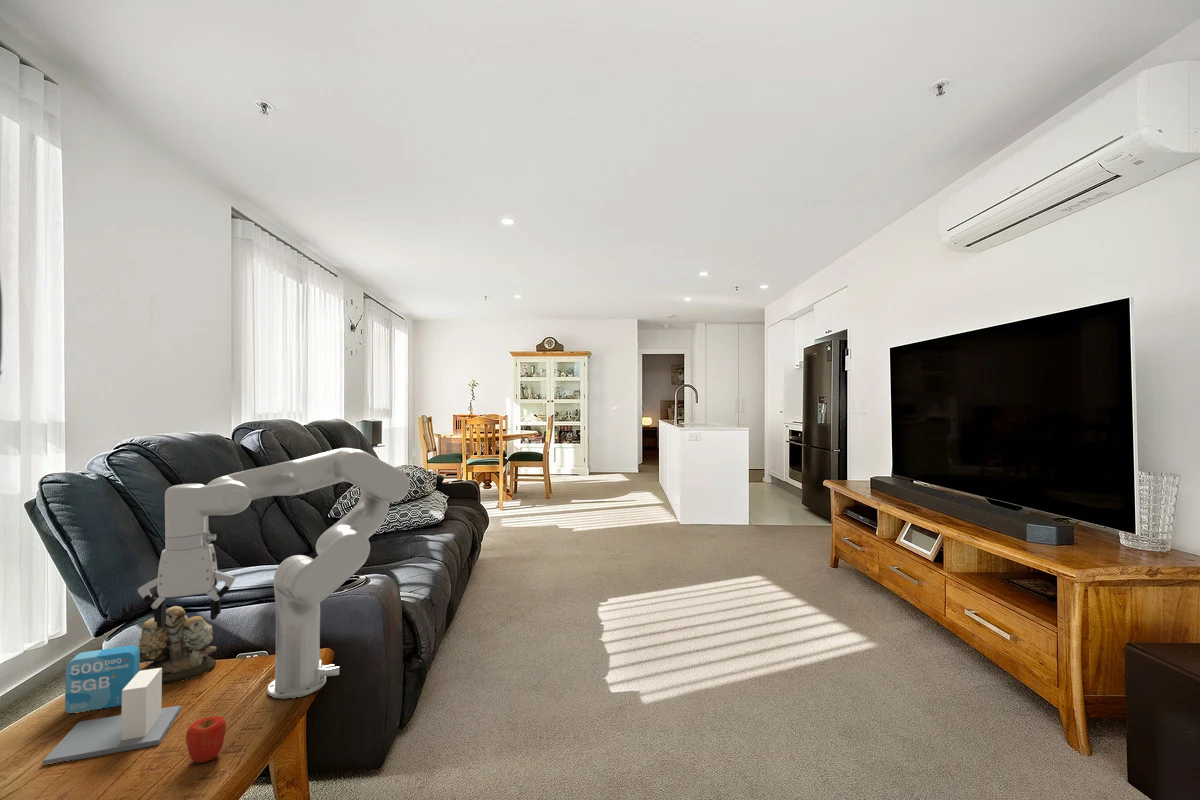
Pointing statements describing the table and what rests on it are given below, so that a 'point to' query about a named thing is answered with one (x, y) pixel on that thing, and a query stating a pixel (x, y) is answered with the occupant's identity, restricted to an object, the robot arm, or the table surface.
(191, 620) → the owl figurine
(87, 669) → the data package
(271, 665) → the table surface
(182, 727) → the table surface
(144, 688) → the slab
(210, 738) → the apple
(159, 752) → the table surface
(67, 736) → the board
